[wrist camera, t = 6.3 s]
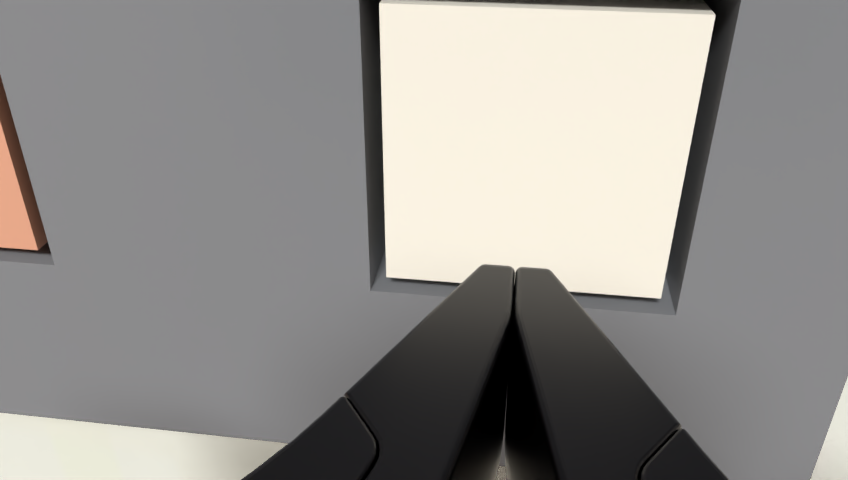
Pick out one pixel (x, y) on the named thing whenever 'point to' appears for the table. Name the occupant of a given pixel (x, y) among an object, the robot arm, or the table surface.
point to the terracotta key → (16, 189)
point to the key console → (365, 225)
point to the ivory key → (538, 136)
